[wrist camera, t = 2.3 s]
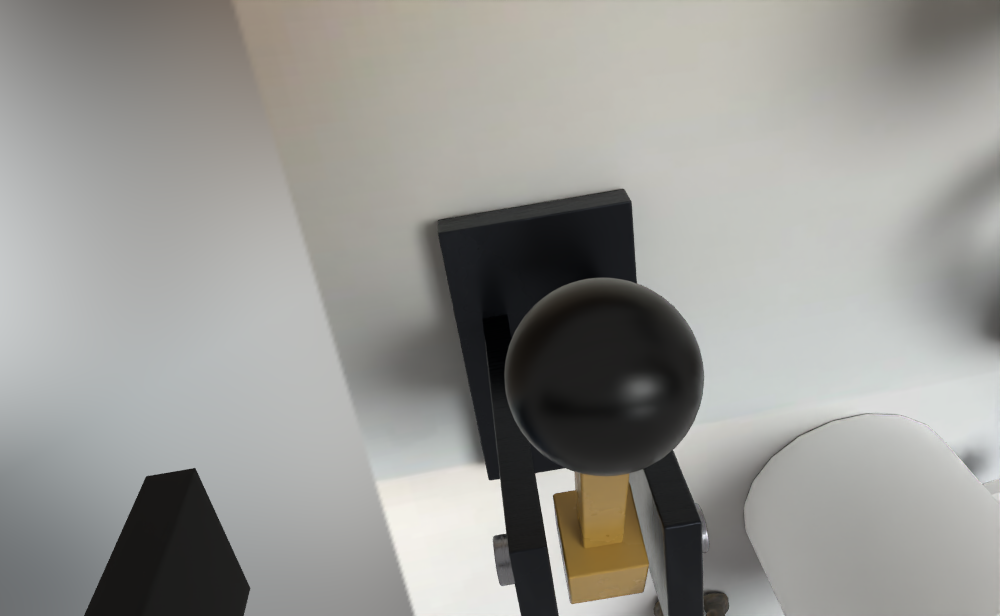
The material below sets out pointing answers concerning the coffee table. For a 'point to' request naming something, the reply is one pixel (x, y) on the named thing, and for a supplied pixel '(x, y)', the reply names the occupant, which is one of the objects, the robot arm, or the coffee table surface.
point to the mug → (876, 524)
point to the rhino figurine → (707, 605)
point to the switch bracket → (485, 341)
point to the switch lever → (603, 415)
